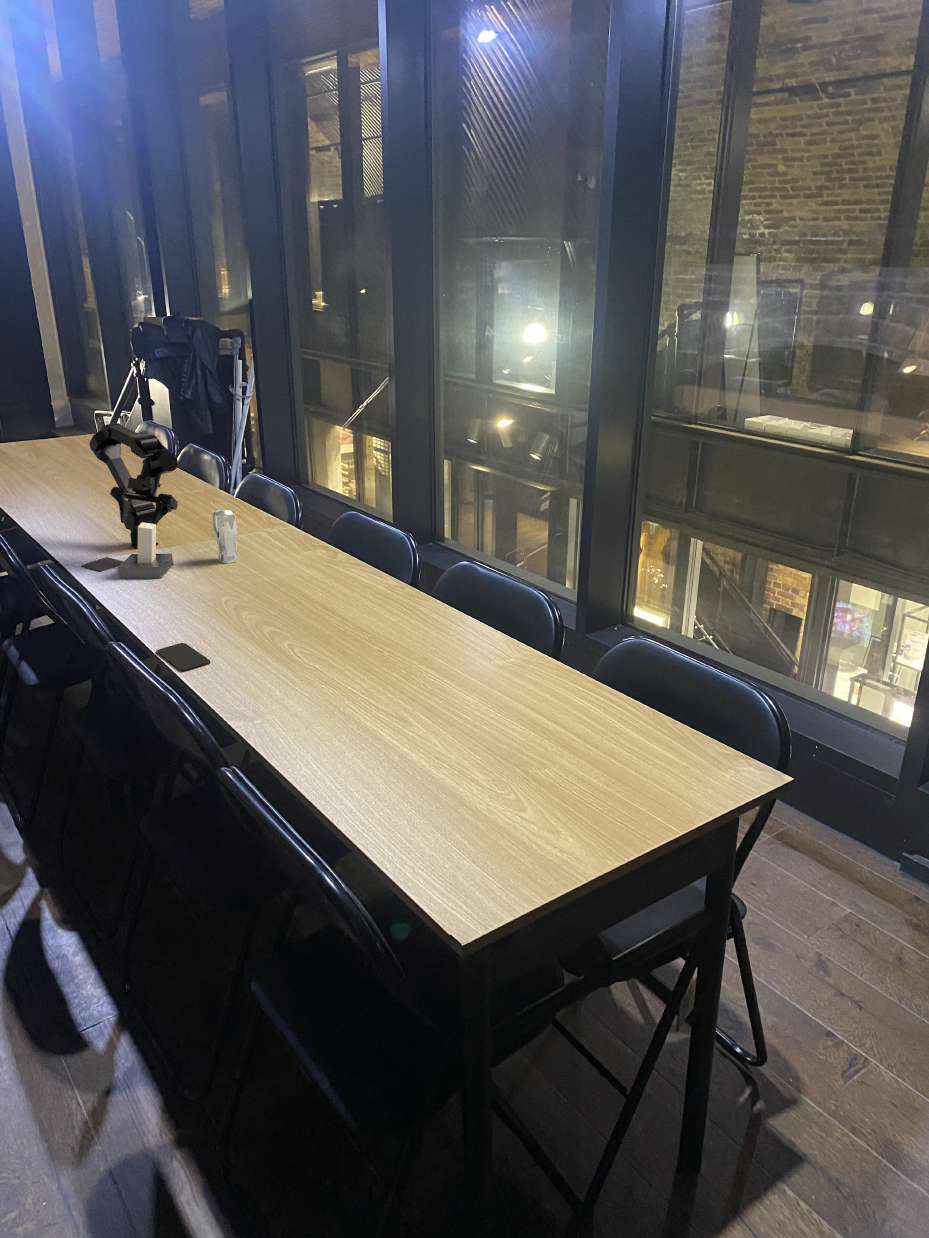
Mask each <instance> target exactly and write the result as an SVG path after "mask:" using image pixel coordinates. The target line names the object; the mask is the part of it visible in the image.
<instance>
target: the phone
mask: <svg viewBox="0 0 929 1238" xmlns="http://www.w3.org/2000/svg"><path fill="white" fill-rule="evenodd" d="M155 653H156V654H157V655H158V656H160V657H161V658H162V659H164V661H165V662H167V663H169V664H170V665H171V666H172V667H174V668H175V669H176V670H177V671H179V672H180V673H186V672H189V671H192V670H193V671H194V670H195V669H200V668H202V667H205V666H208V665H210V664H211V659H209V658H207V657H206V656H204V655H203V654H202V653H200V652H198V651H197V650H196V649H194V648H193V647H191V646H190V645H188V643H185V642H180V643H179V642H178V643H176V644H173V645H169V646H165V647H162V648H159V649H157V650H156V651H155Z"/></svg>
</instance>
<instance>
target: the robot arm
mask: <svg viewBox="0 0 929 1238" xmlns="http://www.w3.org/2000/svg"><path fill="white" fill-rule="evenodd" d="M121 444H122V445H125V446H127V447H129V448H130V453H133V454H134V455H135V456H137V457H139V458H141V459H142V462H141V463H142V467H141V471H140V474H137V476H136V478H135V477H132V476H131V474H130V472H129V470H128V468H127V466H126V465H125V463H124V461H123V459H122V457H121V453H122V445H121ZM88 445H89V448H90V451H92V452H93V454H94V456H95V457H96V458H97V459H98V460H99V461H101V462H102V463H104V464H105V465H106V466H107V468H108V470H109V472H110V474H111V476H112V477H113V479H114V481H115V483H116V484H117V485H116V486H113V487H112V488H111V489H110V492H109V495H110V496H111V497H112V498H113V499H114V500H115V501H116V502H117V503H118V507H119V515H120V523H121V524H124V528H125V529H126V530H128V531H130V534H129V536H130V543H131V544H129V547H130V548H131V547H132V548H135V549H138V526H139V525H140V524H141V523H142V522H143V523H150V524H156V526H158V524H159V522H160V521H161V520H162V518H164V517H165V516H166V515H167V514H168V513H172V510H174V511H176V510H177V508H178V504H179V503H178V502H179V501H178V500H177V499H176V498H175V497H174V496H173V495H172V494H167V493H159V494H158V495H157V492H158V489H159V488H161V483H160V482H161V478H162V475H166V474H168V473H171V472H173V471H176V470H177V468H178V465H179V460H178V458H177V457H176V456H175V454H173V453H172V452H170V451H169V449H168V448H167V447H166V446H165V445H164V444H163V443H162V442H161V440H160V439H158V437H157V436H156V435H155V434H150V433H139V432H137V431H134V430H132V429H129V428H127V427H125V426H123V425H122V424H121V423H118V422H113V423H108V424H107V423H106V424H105V425H103V426H102V428H101V429H100V430H99V431H97V432H96V433H95V434H92V437H91V439H89V443H88ZM154 503H155V504H154ZM157 545H159V542H157V541H156V546H157Z"/></svg>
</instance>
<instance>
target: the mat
mask: <svg viewBox="0 0 929 1238" xmlns="http://www.w3.org/2000/svg"><path fill="white" fill-rule="evenodd" d="M124 561H125V560H120V559H116V558H113V557H109V556H105V557H102V558H99V559H96V560H92V561H90V562H86V563H83V564H81V565H80V567H81V568H84V569H88V570H91V571H95V572H99V573H101V572H104V571H108V570H110V569H113V568H116V567H117V568H118V566H119V565H120V564H121V563H123V562H124Z"/></svg>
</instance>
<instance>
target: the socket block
mask: <svg viewBox="0 0 929 1238" xmlns="http://www.w3.org/2000/svg"><path fill="white" fill-rule="evenodd" d="M123 561H124V562H123V563H121V564H120V565H119V566H117V573H118V577H119V578H118V580H119V579H120V580H121V579H122V580H123V579H126V580H128V579H130V580H131V579H133V580H134V579H137V580H138V579H162V578H163V577H164V576H165V575H166V574H167V572H168V571H170V570H171V568H172V567H173V566H174V560H173V554H172V553H156V559H155V560H154V561H153V562H152V563H138V553H131V554H130V555H129V556H127V558H126V559H125V560H123Z"/></svg>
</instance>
